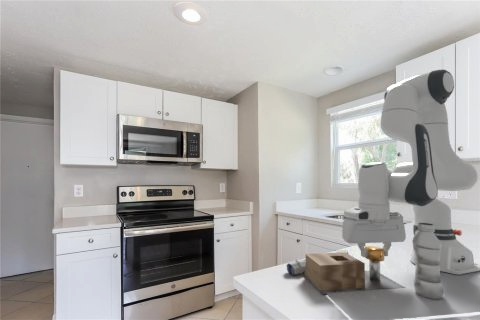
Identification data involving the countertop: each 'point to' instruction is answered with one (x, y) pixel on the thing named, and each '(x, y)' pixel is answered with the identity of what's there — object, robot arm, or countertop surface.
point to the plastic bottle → (427, 262)
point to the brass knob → (374, 261)
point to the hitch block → (342, 274)
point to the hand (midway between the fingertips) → (374, 256)
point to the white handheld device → (301, 265)
